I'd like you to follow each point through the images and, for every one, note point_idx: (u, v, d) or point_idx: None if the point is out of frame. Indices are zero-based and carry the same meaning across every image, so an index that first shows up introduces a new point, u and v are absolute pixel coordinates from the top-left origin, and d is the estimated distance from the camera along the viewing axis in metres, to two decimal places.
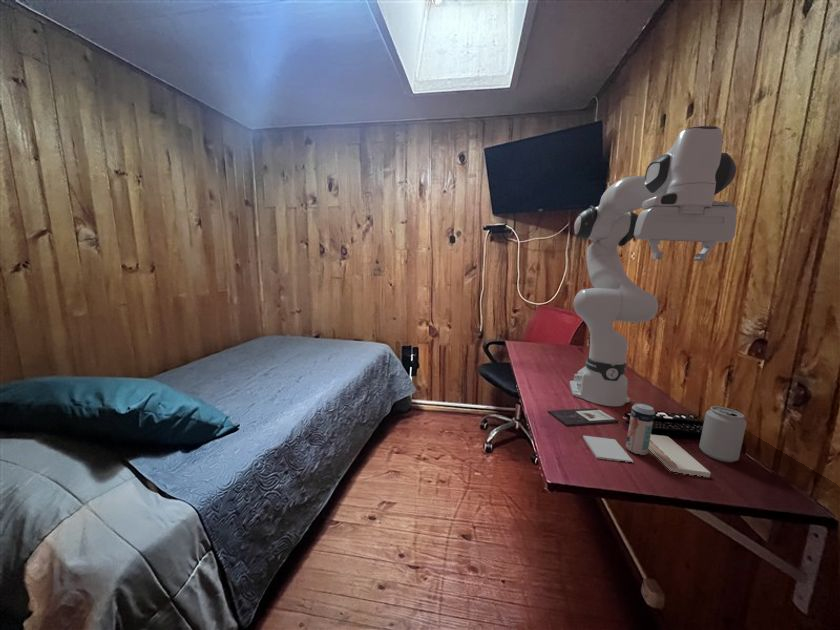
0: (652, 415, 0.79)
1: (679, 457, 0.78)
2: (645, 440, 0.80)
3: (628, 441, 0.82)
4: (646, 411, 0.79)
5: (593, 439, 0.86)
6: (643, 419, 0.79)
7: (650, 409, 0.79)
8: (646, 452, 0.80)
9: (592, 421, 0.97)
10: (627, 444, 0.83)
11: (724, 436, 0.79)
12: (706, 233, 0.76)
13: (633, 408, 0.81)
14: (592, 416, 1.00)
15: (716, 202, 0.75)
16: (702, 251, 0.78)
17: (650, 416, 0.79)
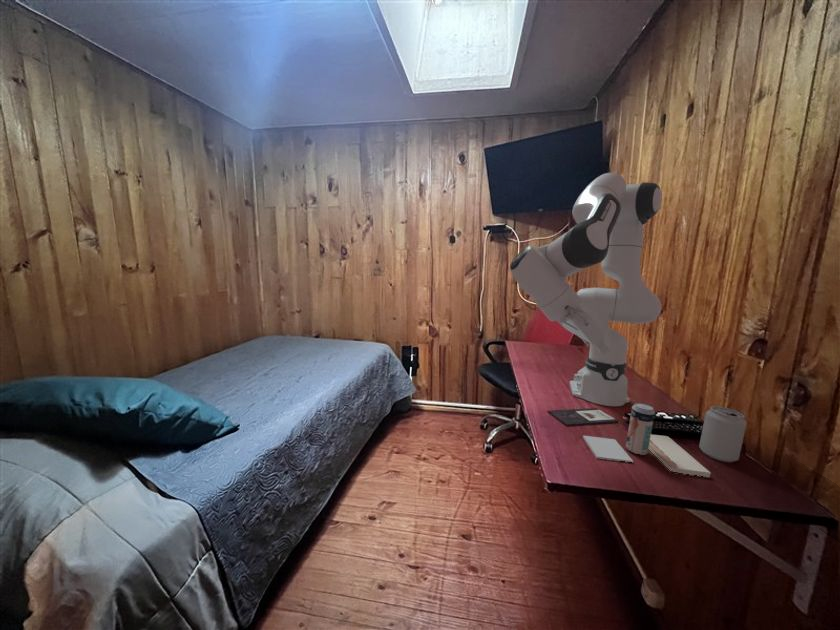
0: (652, 415, 0.79)
1: (679, 457, 0.78)
2: (645, 440, 0.80)
3: (628, 441, 0.82)
4: (646, 411, 0.79)
5: (593, 439, 0.86)
6: (643, 419, 0.79)
7: (650, 409, 0.79)
8: (646, 452, 0.80)
9: (592, 421, 0.97)
10: (627, 444, 0.83)
11: (724, 436, 0.79)
12: (580, 335, 0.77)
13: (633, 408, 0.81)
14: (592, 416, 1.00)
15: (567, 309, 0.75)
16: None
17: (650, 416, 0.79)
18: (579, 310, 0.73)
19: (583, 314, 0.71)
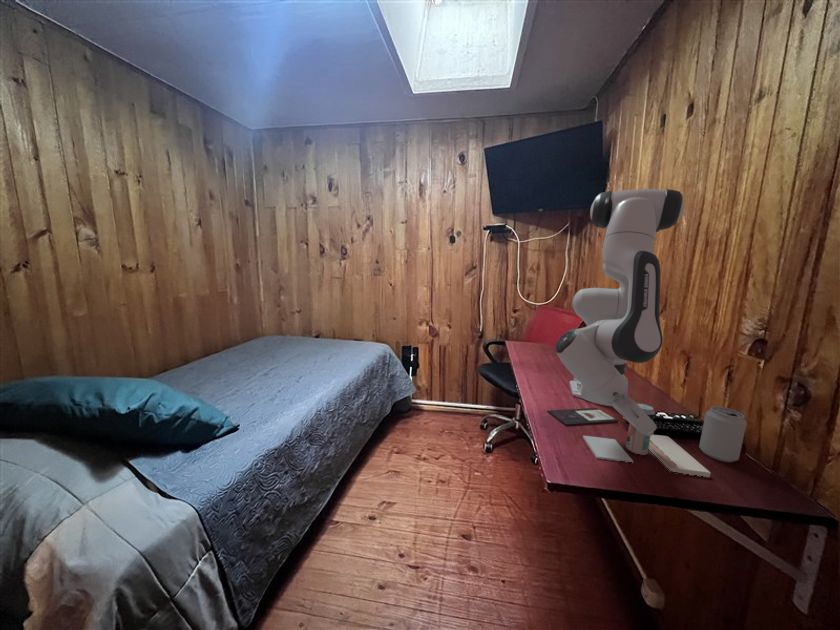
0: (652, 415, 0.79)
1: (679, 457, 0.78)
2: (646, 440, 0.80)
3: (628, 441, 0.82)
4: (646, 411, 0.79)
5: (593, 439, 0.86)
6: None
7: (650, 409, 0.79)
8: (646, 452, 0.80)
9: (592, 421, 0.97)
10: (627, 444, 0.83)
11: (724, 436, 0.79)
12: (627, 420, 0.78)
13: None
14: (592, 416, 1.00)
15: (616, 397, 0.76)
16: None
17: (650, 416, 0.79)
18: (628, 399, 0.74)
19: (633, 406, 0.72)
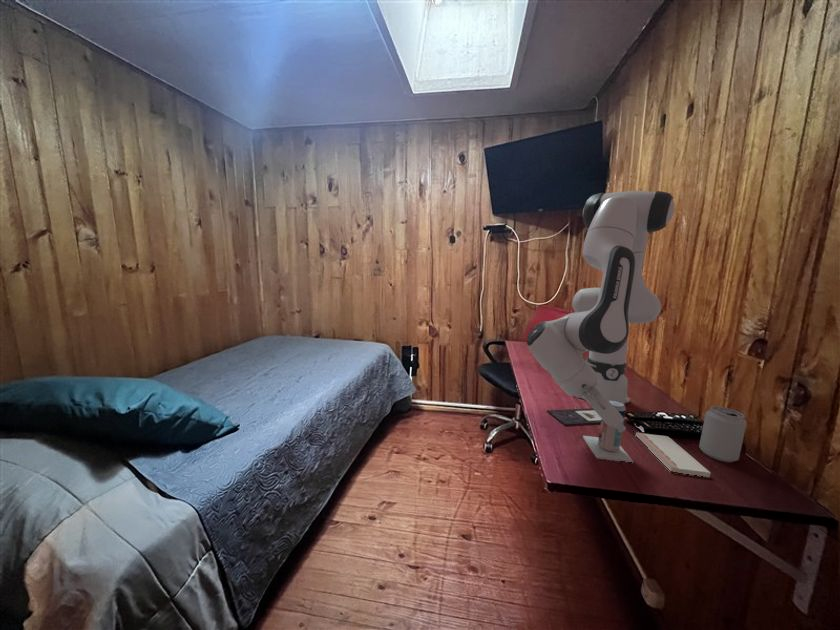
0: (623, 412, 0.79)
1: (679, 457, 0.78)
2: (617, 437, 0.79)
3: (600, 438, 0.82)
4: (617, 408, 0.79)
5: (593, 439, 0.86)
6: None
7: (621, 406, 0.79)
8: (617, 449, 0.80)
9: (591, 421, 0.97)
10: (599, 441, 0.82)
11: (724, 436, 0.79)
12: None
13: None
14: (591, 416, 1.00)
15: (584, 389, 0.76)
16: None
17: (620, 413, 0.78)
18: (596, 391, 0.74)
19: (600, 398, 0.72)
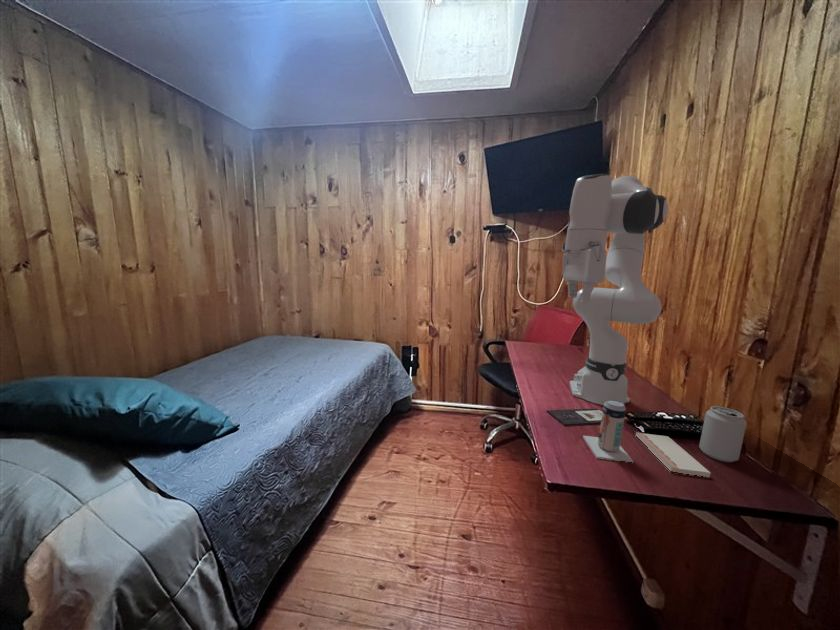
0: (623, 412, 0.79)
1: (679, 457, 0.78)
2: (617, 437, 0.79)
3: (600, 438, 0.82)
4: (617, 408, 0.79)
5: (593, 439, 0.86)
6: (614, 415, 0.79)
7: (621, 406, 0.79)
8: (617, 449, 0.80)
9: (591, 421, 0.97)
10: (599, 441, 0.82)
11: (724, 436, 0.79)
12: (578, 274, 0.78)
13: (605, 405, 0.81)
14: (591, 416, 1.00)
15: (591, 243, 0.75)
16: None
17: (620, 413, 0.78)
18: None
19: (602, 251, 0.72)
